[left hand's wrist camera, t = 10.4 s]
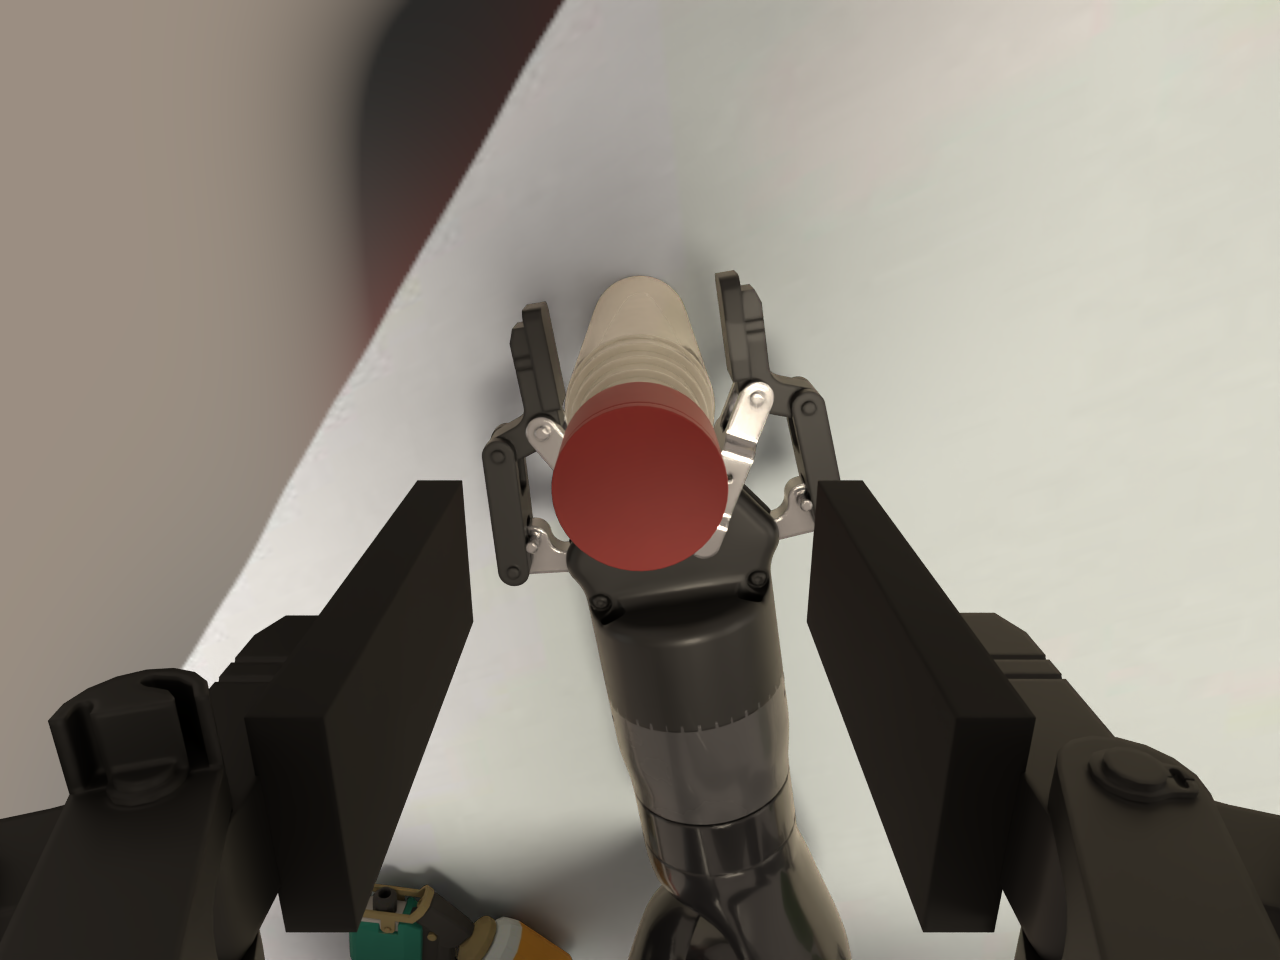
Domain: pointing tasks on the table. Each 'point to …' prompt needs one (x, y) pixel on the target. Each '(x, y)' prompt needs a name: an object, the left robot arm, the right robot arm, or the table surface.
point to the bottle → (639, 345)
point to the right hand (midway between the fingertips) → (629, 291)
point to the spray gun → (440, 931)
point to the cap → (639, 477)
